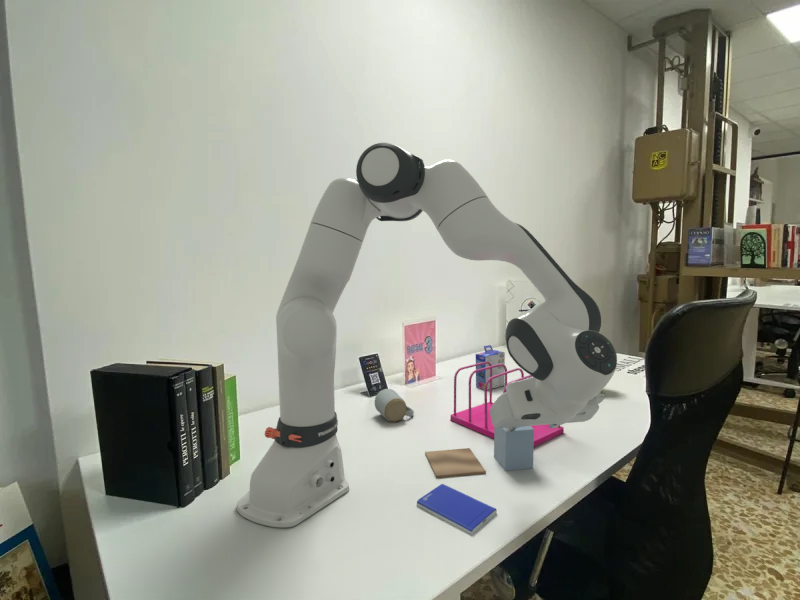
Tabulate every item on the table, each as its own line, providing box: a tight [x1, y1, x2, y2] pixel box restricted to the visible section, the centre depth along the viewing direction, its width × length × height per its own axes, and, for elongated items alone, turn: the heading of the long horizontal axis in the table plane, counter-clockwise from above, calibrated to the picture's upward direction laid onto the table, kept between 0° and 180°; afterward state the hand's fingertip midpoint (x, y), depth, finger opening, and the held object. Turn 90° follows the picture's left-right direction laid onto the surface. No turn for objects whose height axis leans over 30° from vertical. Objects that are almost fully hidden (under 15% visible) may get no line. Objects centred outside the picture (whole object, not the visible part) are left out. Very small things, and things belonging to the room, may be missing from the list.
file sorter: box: [450, 362, 564, 448], centre depth 115 cm, size 17×25×16 cm
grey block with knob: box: [493, 426, 535, 472], centre depth 95 cm, size 6×6×10 cm
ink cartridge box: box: [475, 344, 506, 391], centre depth 150 cm, size 10×6×14 cm, turn 124°
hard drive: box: [416, 483, 498, 536], centre depth 79 cm, size 2×8×12 cm
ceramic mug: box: [374, 388, 415, 423], centre depth 123 cm, size 11×8×8 cm
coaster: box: [424, 447, 487, 479], centre depth 96 cm, size 11×11×1 cm
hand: (530, 426), depth 87 cm, fingers open, 8 cm apart
